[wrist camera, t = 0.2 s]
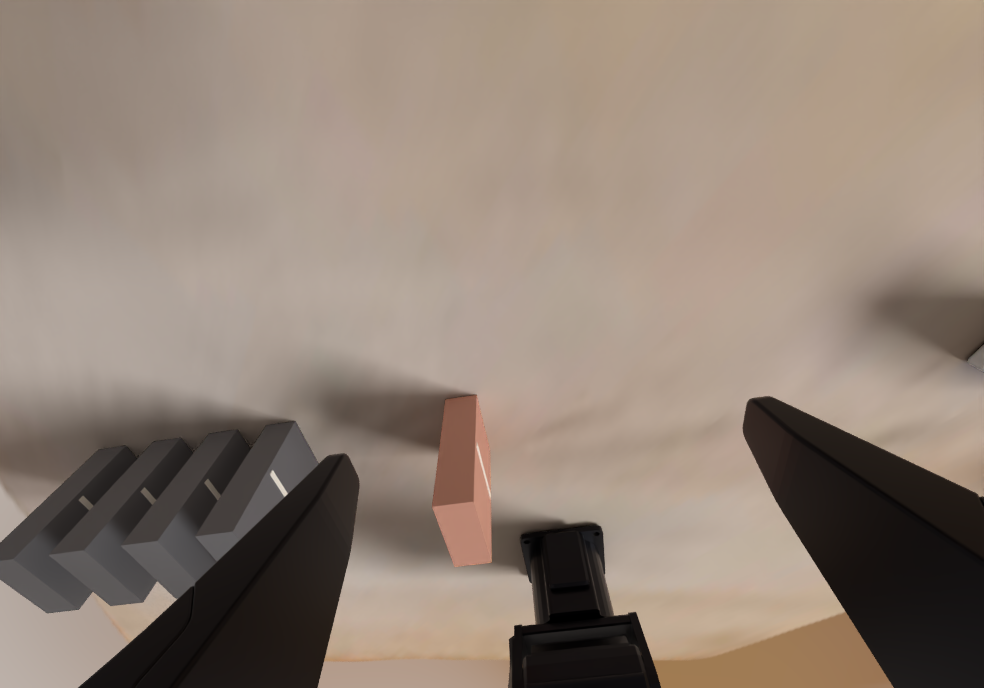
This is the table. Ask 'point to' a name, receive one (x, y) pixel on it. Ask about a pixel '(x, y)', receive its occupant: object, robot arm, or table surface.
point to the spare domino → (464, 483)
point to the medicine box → (977, 359)
